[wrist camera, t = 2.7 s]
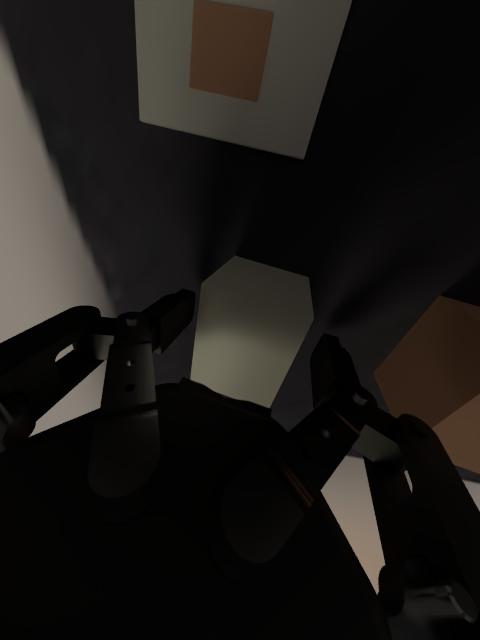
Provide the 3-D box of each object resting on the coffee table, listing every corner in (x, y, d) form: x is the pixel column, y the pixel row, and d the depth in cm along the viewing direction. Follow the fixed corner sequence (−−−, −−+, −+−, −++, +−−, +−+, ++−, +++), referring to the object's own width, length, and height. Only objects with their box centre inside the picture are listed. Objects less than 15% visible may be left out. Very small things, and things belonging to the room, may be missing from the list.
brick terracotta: (438, 294, 10) (531, 355, 6) (532, 321, 10) (699, 406, 6) (372, 372, 14) (405, 447, 9) (441, 395, 13) (507, 484, 9)
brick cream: (235, 255, 12) (201, 283, 8) (308, 276, 12) (314, 318, 7) (219, 333, 15) (190, 382, 11) (276, 352, 15) (267, 410, 11)
